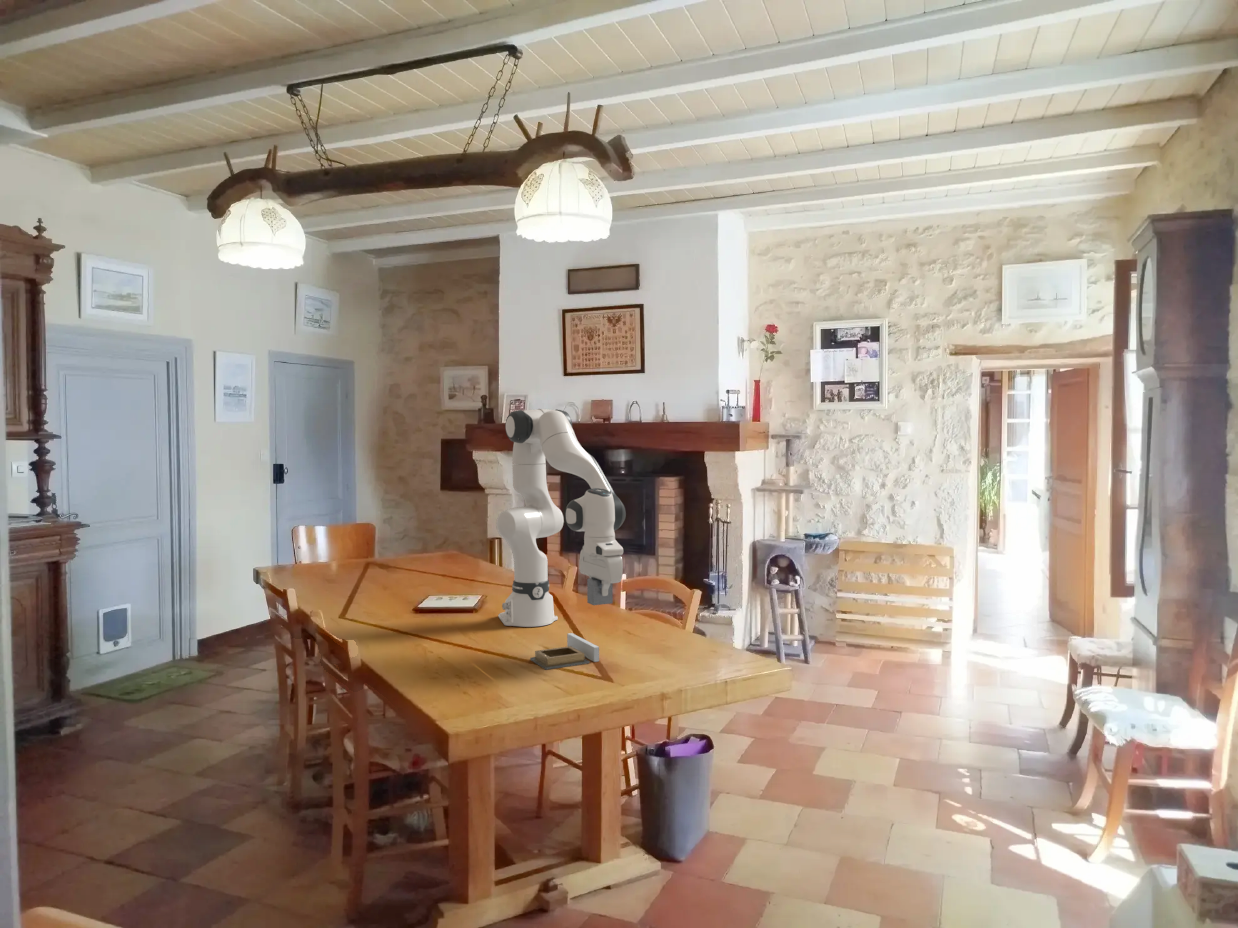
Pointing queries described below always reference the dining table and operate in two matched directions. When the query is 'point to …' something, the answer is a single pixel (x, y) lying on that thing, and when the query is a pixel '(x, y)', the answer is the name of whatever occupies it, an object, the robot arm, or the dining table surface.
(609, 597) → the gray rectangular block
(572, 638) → the door edge
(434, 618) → the dining table surface
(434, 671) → the dining table surface
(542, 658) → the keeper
